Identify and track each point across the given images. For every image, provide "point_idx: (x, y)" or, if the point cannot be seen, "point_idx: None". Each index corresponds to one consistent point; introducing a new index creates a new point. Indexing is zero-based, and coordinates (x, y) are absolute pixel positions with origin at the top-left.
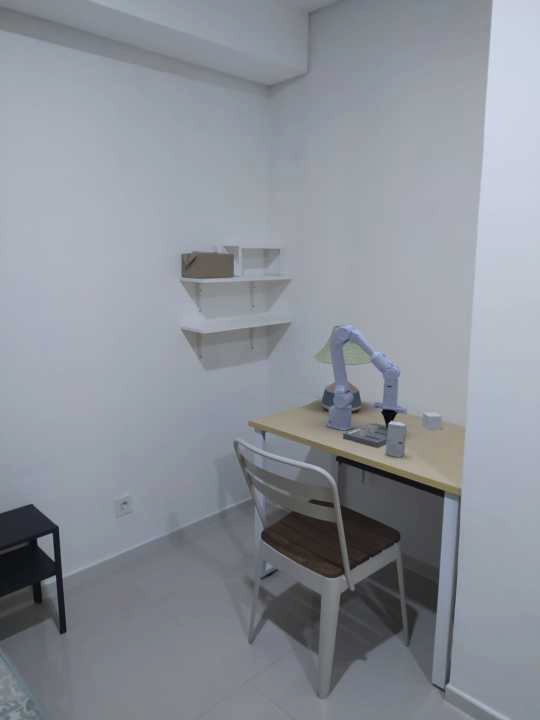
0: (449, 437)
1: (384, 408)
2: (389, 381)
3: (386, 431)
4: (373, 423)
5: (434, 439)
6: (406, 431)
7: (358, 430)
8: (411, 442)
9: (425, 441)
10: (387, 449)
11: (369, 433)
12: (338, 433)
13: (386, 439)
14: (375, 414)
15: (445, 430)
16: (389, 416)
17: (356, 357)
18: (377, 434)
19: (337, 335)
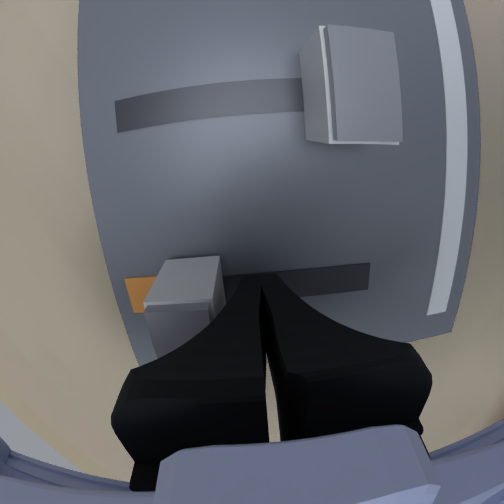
0: (46, 427)
1: (308, 463)
2: None
3: (232, 215)
4: (372, 85)
5: (34, 376)
6: (141, 362)
7: (437, 31)
8: (24, 237)
9: (17, 319)
10: None
11: (312, 12)
12: (500, 15)
13: (80, 21)
14: (463, 437)
15: (129, 480)
16: (196, 352)
17: None
18: (229, 44)
19: None
